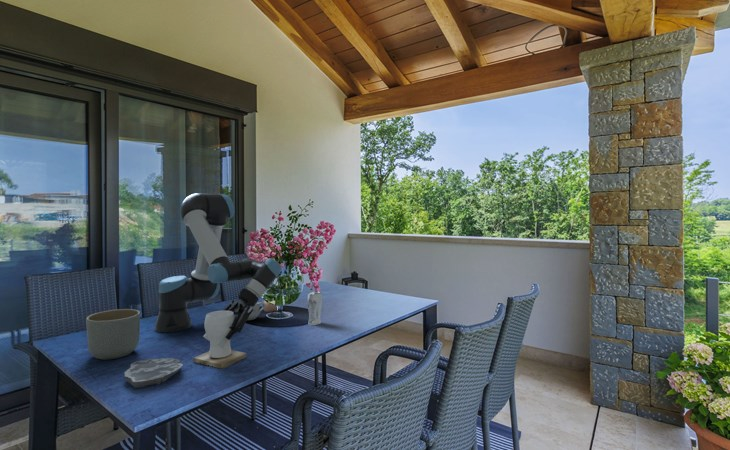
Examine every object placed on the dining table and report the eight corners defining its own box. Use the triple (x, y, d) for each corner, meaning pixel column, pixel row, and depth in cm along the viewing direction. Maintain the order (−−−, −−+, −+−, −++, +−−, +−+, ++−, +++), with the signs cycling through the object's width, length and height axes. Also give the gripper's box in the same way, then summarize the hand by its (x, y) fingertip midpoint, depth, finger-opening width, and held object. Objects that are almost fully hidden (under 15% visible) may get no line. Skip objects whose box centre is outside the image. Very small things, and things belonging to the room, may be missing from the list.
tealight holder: (260, 310, 211) (260, 300, 210) (269, 307, 218) (269, 297, 218) (272, 312, 207) (272, 302, 207) (281, 309, 215) (281, 299, 214)
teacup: (239, 323, 187) (239, 306, 187) (235, 317, 197) (235, 302, 197) (268, 319, 194) (268, 303, 194) (263, 314, 203) (263, 299, 203)
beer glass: (319, 326, 184) (319, 294, 184) (305, 325, 185) (305, 294, 185) (323, 321, 191) (323, 291, 190) (310, 321, 192) (310, 291, 192)
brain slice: (188, 380, 125) (188, 371, 125) (126, 394, 115) (126, 385, 115) (177, 361, 141) (177, 353, 141) (122, 372, 131) (122, 363, 131)
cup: (198, 357, 139) (197, 315, 138) (219, 347, 149) (219, 308, 148) (221, 361, 135) (221, 319, 134) (241, 351, 145) (241, 311, 144)
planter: (100, 367, 134) (99, 323, 133) (78, 357, 143) (77, 316, 142) (149, 352, 148) (148, 313, 147) (126, 344, 157) (126, 306, 156)
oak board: (193, 361, 139) (193, 357, 139) (218, 351, 150) (218, 347, 150) (222, 368, 134) (222, 364, 134) (246, 357, 145) (246, 353, 144)
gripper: (273, 304, 144) (234, 356, 134) (243, 294, 160) (206, 340, 150) (261, 292, 140) (219, 344, 130) (231, 283, 156) (192, 329, 146)
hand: (212, 342), depth 140 cm, fingers closed on cup, 10 cm apart
